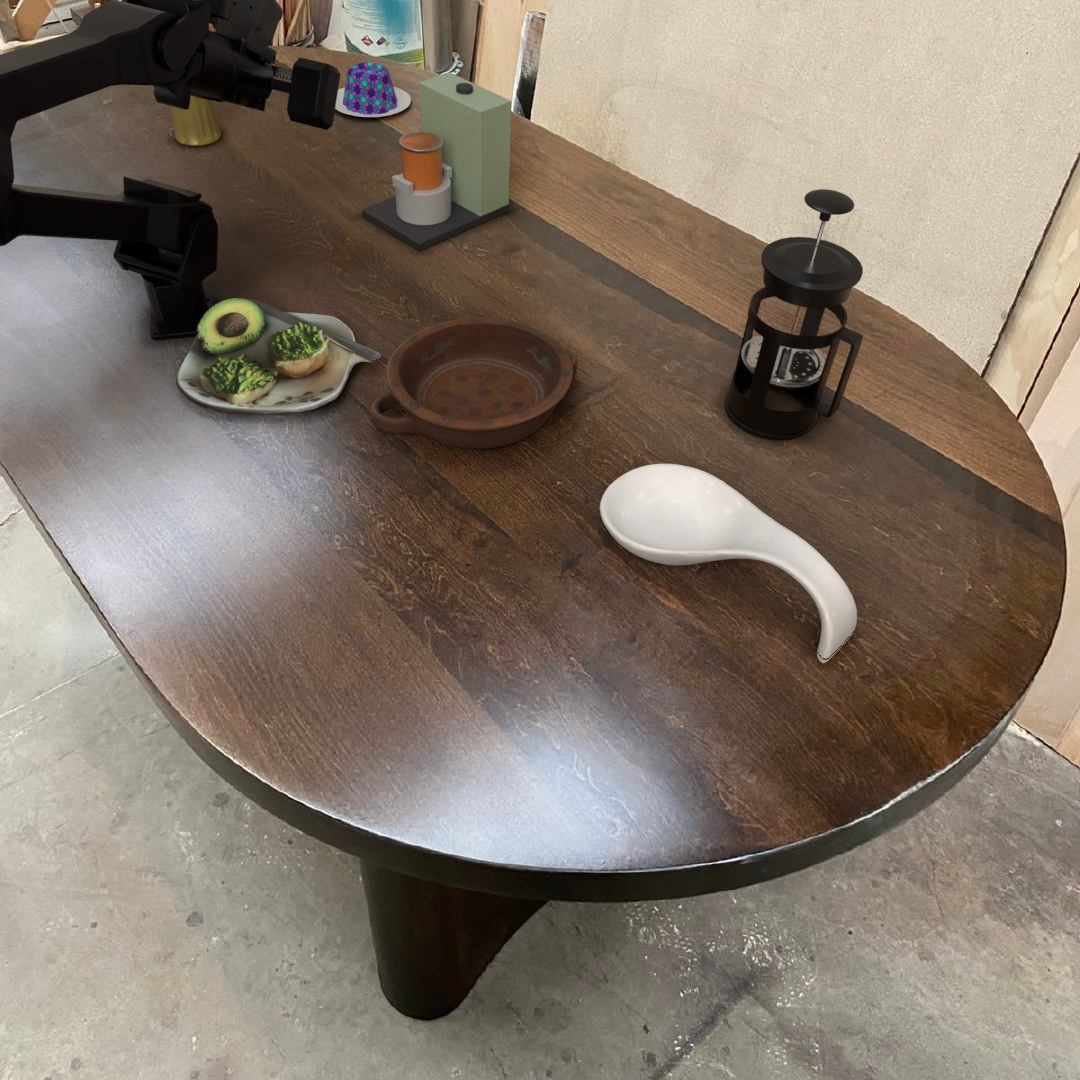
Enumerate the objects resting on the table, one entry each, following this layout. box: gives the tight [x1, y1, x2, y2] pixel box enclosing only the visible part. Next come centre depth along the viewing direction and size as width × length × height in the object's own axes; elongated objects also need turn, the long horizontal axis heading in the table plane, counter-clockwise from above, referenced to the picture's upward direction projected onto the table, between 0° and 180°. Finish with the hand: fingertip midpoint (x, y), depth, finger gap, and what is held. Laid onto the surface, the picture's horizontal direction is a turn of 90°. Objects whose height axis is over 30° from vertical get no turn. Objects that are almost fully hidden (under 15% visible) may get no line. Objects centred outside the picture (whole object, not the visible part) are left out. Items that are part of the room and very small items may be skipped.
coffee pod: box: [398, 131, 443, 191], centre depth 116 cm, size 5×5×5 cm
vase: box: [169, 96, 222, 147], centre depth 129 cm, size 6×6×14 cm
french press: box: [723, 188, 864, 441], centre depth 89 cm, size 12×9×23 cm
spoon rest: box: [599, 463, 858, 664], centre depth 80 cm, size 24×12×7 cm, turn 48°
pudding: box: [335, 61, 412, 118], centre depth 142 cm, size 12×12×5 cm
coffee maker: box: [361, 72, 512, 252], centre depth 117 cm, size 15×11×15 cm
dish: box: [370, 316, 578, 450], centre depth 94 cm, size 18×22×5 cm
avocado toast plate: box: [175, 297, 382, 415], centre depth 97 cm, size 19×18×5 cm
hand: (299, 94), depth 109 cm, fingers open, 9 cm apart
